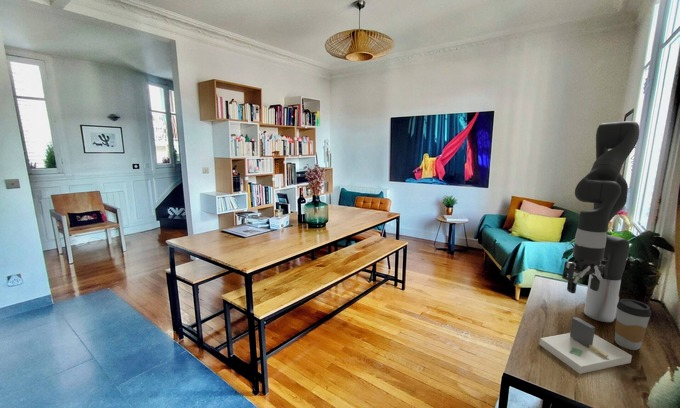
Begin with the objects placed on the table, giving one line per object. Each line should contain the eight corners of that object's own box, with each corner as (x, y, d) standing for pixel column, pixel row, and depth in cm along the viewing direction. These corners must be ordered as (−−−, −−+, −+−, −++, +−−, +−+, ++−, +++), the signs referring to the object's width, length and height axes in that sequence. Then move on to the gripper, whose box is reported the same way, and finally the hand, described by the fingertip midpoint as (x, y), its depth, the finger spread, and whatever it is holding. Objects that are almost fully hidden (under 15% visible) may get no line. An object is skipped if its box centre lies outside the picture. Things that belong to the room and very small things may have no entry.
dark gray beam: (574, 335, 104) (576, 317, 103) (608, 357, 93) (612, 336, 92) (569, 336, 104) (572, 317, 102) (604, 358, 93) (608, 337, 92)
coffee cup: (635, 339, 106) (642, 300, 103) (650, 354, 98) (658, 312, 96) (606, 335, 109) (612, 296, 106) (618, 349, 101) (625, 308, 98)
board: (585, 336, 108) (586, 329, 108) (630, 362, 95) (632, 355, 94) (539, 344, 104) (540, 337, 103) (579, 373, 90) (581, 365, 90)
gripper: (597, 238, 100) (590, 284, 103) (559, 241, 98) (553, 287, 101) (621, 245, 93) (613, 294, 96) (581, 248, 91) (574, 298, 94)
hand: (582, 291), depth 99 cm, fingers open, 8 cm apart
